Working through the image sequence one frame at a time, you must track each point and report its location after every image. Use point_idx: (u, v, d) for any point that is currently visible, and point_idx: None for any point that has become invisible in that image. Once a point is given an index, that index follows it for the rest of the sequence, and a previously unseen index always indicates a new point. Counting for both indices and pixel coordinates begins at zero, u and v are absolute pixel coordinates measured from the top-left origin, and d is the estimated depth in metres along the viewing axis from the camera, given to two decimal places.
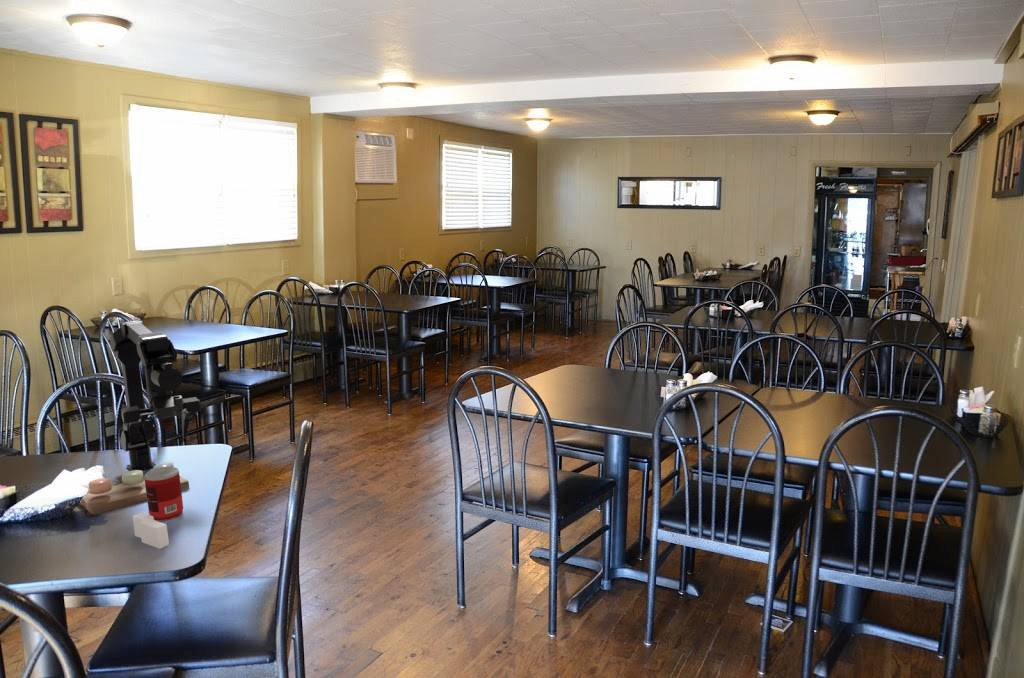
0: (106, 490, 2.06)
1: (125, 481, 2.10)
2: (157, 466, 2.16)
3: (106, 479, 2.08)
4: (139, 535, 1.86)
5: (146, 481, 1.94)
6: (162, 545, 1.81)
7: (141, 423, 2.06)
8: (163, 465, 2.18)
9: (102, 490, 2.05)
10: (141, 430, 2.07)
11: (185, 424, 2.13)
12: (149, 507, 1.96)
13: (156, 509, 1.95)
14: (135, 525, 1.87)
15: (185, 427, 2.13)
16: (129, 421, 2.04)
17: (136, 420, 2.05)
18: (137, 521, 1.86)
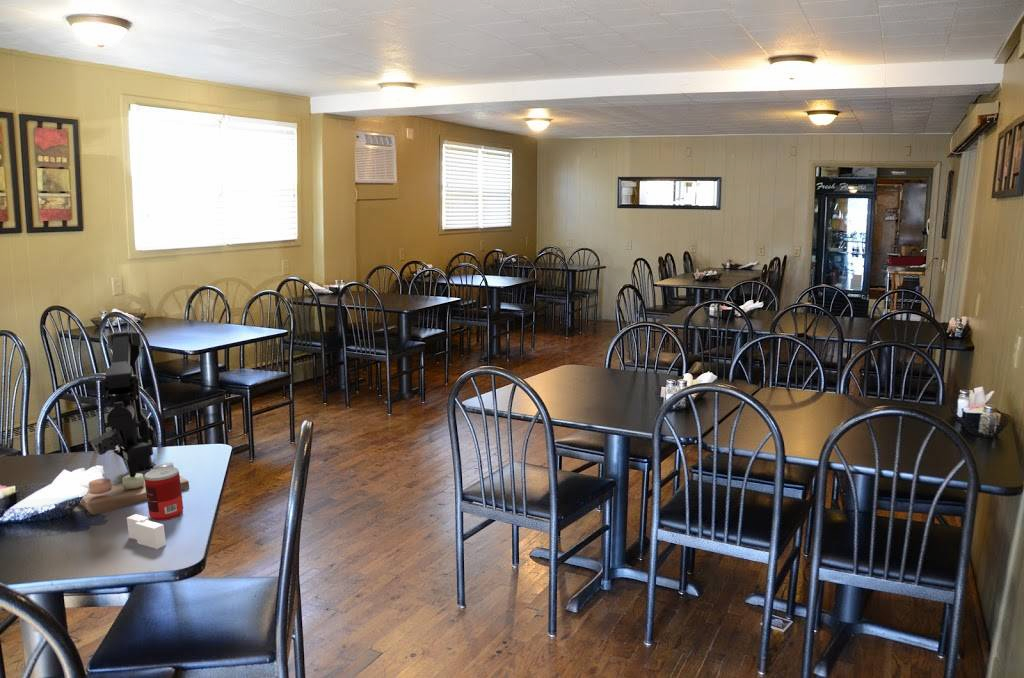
0: (106, 490, 2.06)
1: (125, 485, 2.10)
2: (157, 466, 2.16)
3: (106, 479, 2.08)
4: (134, 536, 1.86)
5: (146, 481, 1.94)
6: (159, 545, 1.81)
7: (117, 454, 2.10)
8: (163, 465, 2.18)
9: (102, 490, 2.05)
10: (123, 460, 2.11)
11: (126, 463, 2.10)
12: (149, 507, 1.96)
13: (156, 509, 1.95)
14: (129, 526, 1.86)
15: (127, 466, 2.11)
16: None
17: None
18: (132, 522, 1.85)
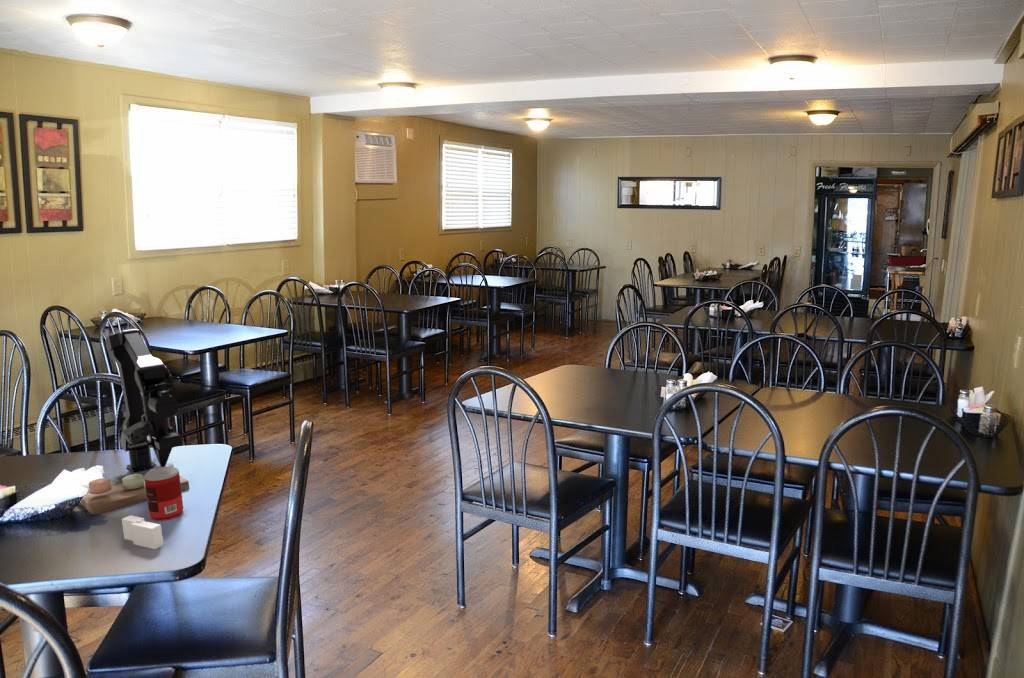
0: (106, 490, 2.06)
1: (126, 485, 2.10)
2: (157, 467, 2.17)
3: (106, 479, 2.08)
4: (129, 538, 1.85)
5: (146, 481, 1.94)
6: (157, 545, 1.81)
7: (148, 444, 2.15)
8: None
9: (102, 490, 2.05)
10: (154, 450, 2.16)
11: (157, 453, 2.15)
12: (149, 507, 1.96)
13: (156, 509, 1.95)
14: (124, 527, 1.85)
15: (158, 456, 2.16)
16: None
17: None
18: (127, 523, 1.85)
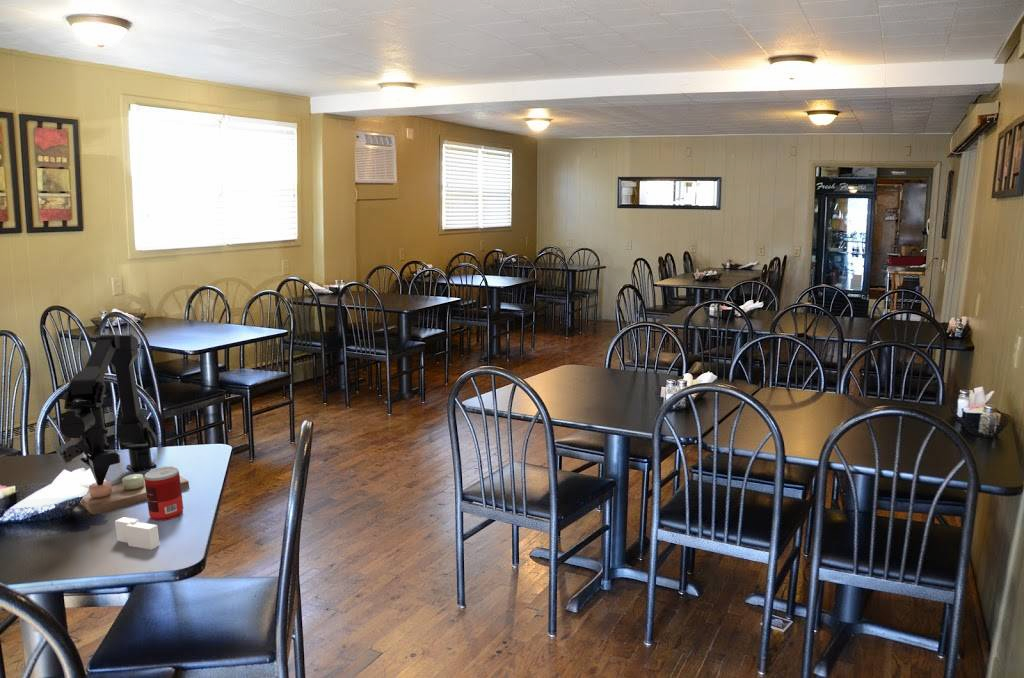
0: (106, 493, 2.06)
1: (126, 485, 2.10)
2: None
3: (106, 482, 2.08)
4: (123, 539, 1.84)
5: (146, 481, 1.94)
6: (154, 546, 1.81)
7: None
8: None
9: (102, 493, 2.05)
10: (90, 468, 2.06)
11: (93, 471, 2.05)
12: (149, 507, 1.96)
13: (156, 509, 1.95)
14: (118, 529, 1.84)
15: (94, 474, 2.05)
16: None
17: None
18: (121, 525, 1.84)
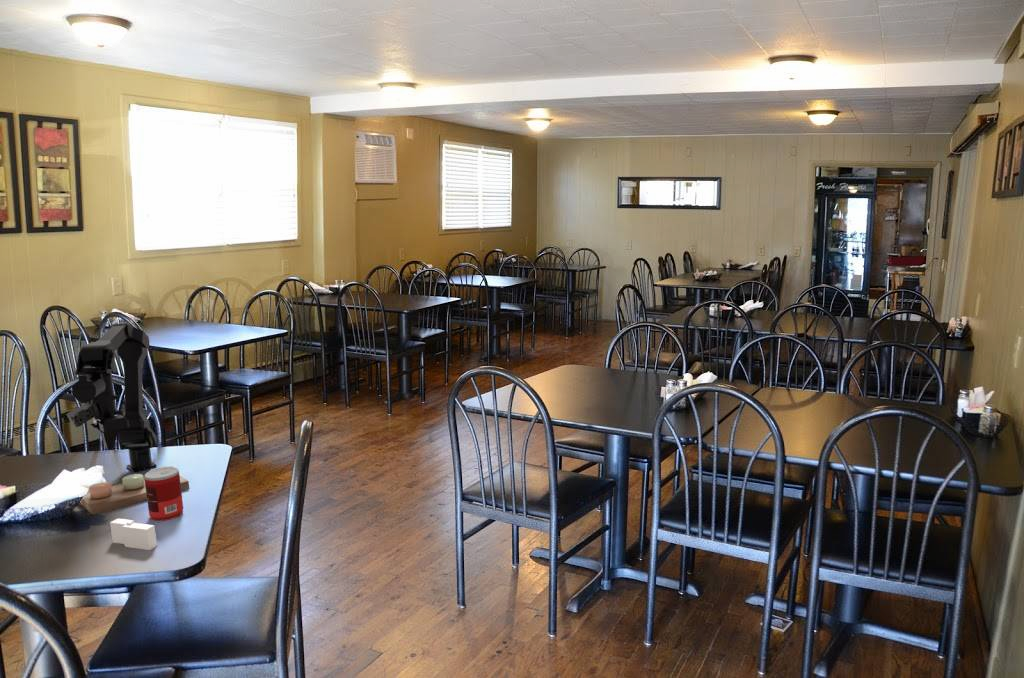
0: (107, 494, 2.06)
1: (126, 485, 2.10)
2: None
3: (107, 483, 2.08)
4: (118, 541, 1.84)
5: (146, 481, 1.94)
6: (151, 546, 1.80)
7: None
8: None
9: (103, 494, 2.05)
10: (100, 433, 2.12)
11: (103, 436, 2.11)
12: (149, 507, 1.96)
13: (156, 509, 1.95)
14: (113, 531, 1.84)
15: (104, 439, 2.12)
16: None
17: None
18: (116, 527, 1.83)
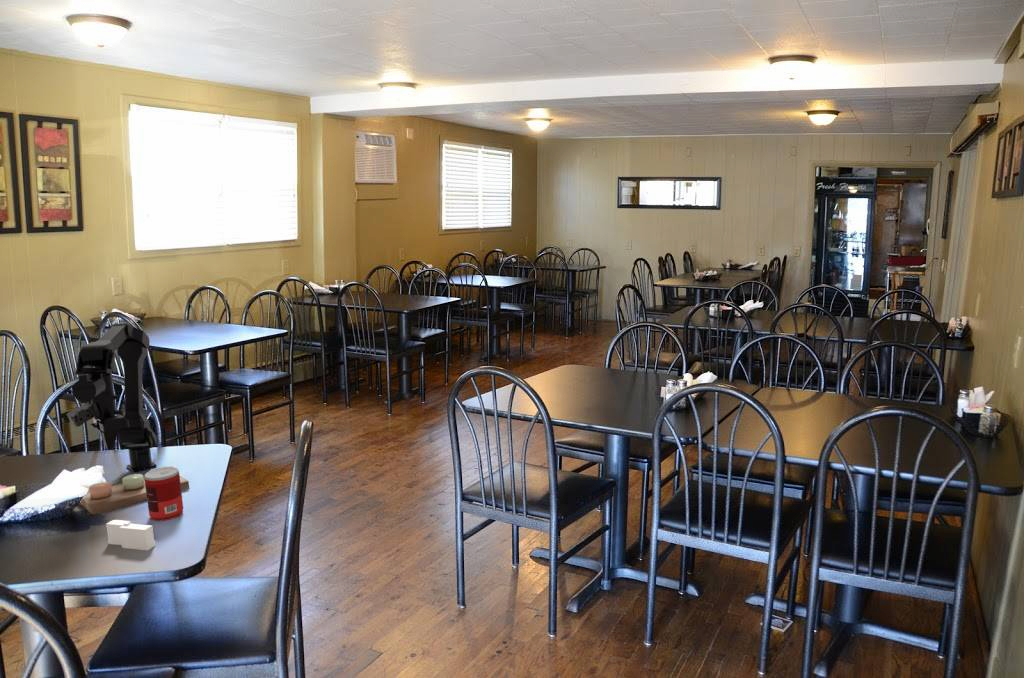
0: (107, 494, 2.06)
1: (126, 485, 2.10)
2: None
3: (107, 483, 2.08)
4: (115, 542, 1.83)
5: (146, 481, 1.94)
6: (149, 546, 1.80)
7: None
8: None
9: (103, 494, 2.05)
10: (100, 433, 2.12)
11: (103, 436, 2.11)
12: (149, 507, 1.96)
13: (156, 509, 1.95)
14: (109, 532, 1.83)
15: (104, 439, 2.12)
16: None
17: None
18: (113, 528, 1.83)
